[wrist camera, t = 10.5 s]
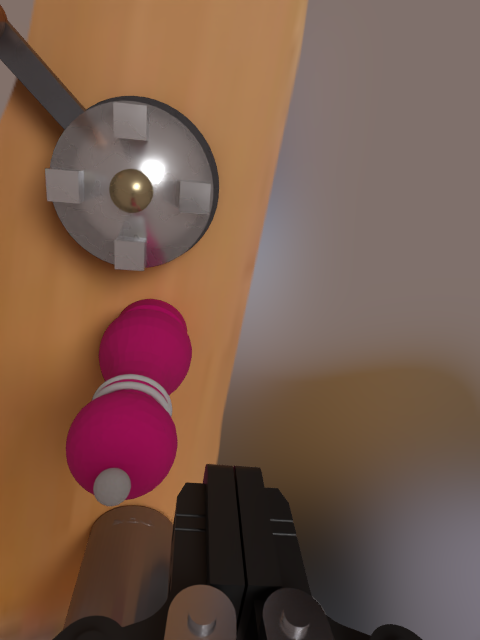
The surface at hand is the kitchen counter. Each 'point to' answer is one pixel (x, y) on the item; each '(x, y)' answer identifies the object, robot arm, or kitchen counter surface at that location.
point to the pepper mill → (131, 405)
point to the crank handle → (117, 169)
